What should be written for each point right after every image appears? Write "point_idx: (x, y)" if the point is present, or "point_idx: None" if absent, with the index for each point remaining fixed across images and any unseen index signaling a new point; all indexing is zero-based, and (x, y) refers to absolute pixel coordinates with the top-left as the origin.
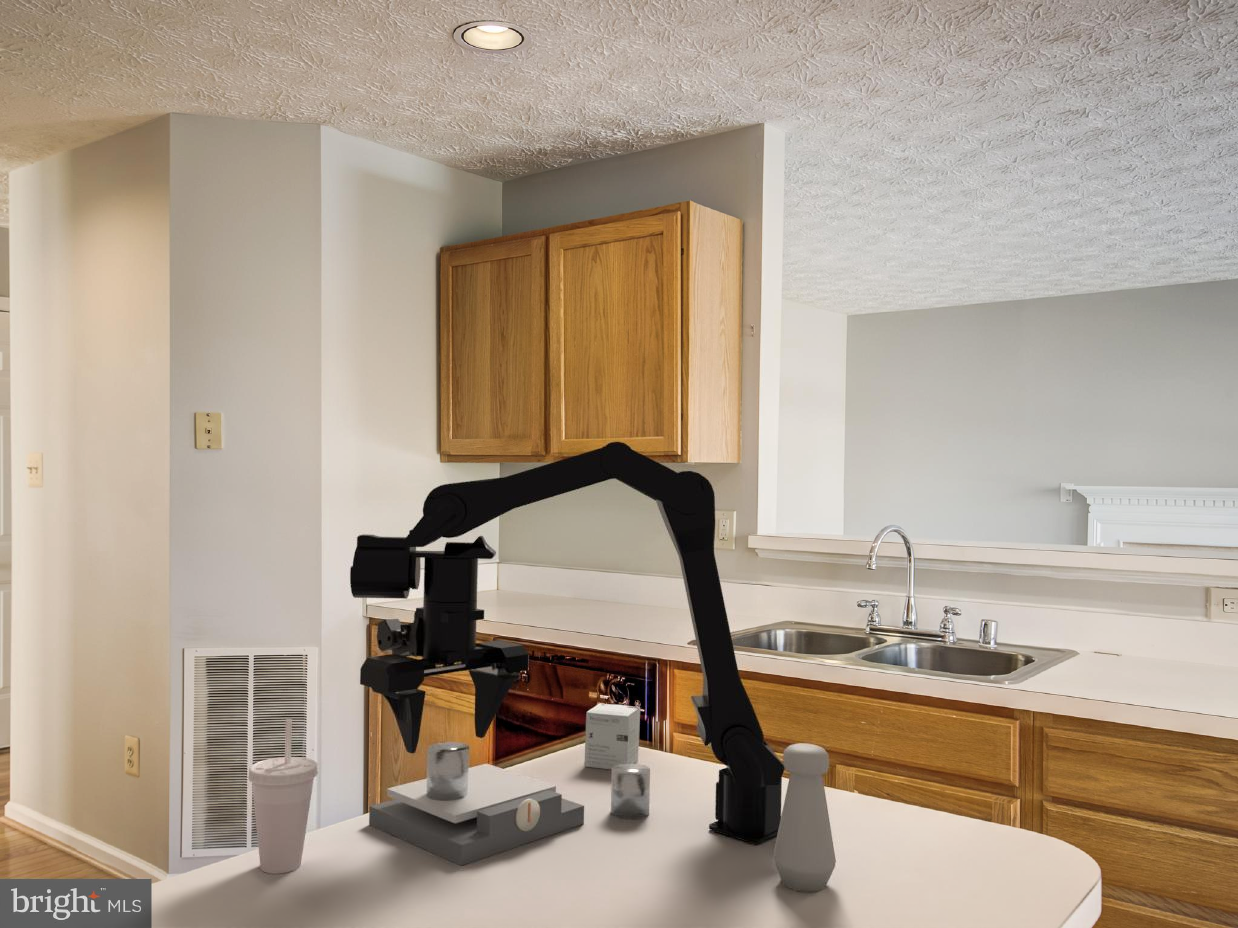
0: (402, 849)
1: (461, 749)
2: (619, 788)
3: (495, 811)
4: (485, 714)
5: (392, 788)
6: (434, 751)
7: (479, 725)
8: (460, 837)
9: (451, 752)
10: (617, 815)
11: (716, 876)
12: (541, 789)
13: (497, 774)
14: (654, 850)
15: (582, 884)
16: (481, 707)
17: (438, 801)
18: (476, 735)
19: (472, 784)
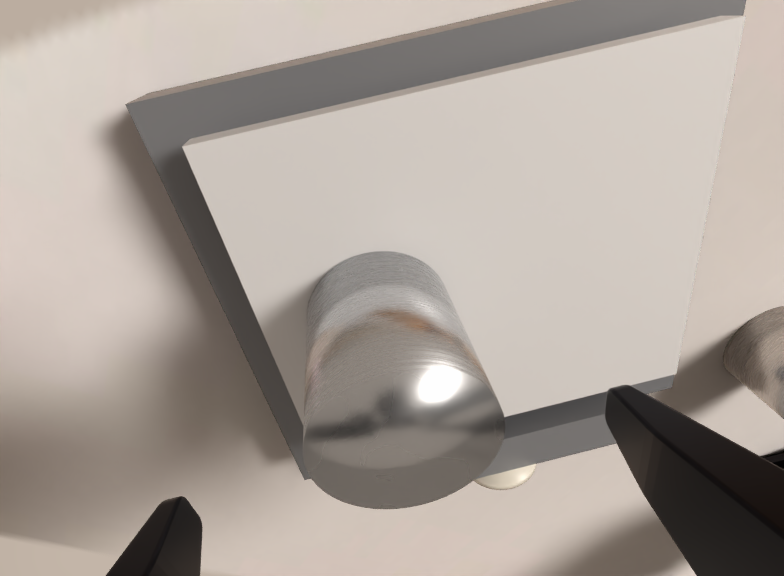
0: (210, 329)
1: (441, 481)
2: (779, 403)
3: None
4: (694, 550)
5: (206, 160)
6: (318, 474)
7: (642, 459)
8: None
9: (381, 500)
10: (726, 357)
11: (601, 562)
12: (626, 381)
13: (651, 195)
14: (621, 488)
15: (443, 542)
16: (740, 557)
17: None
18: (609, 396)
19: (505, 261)
